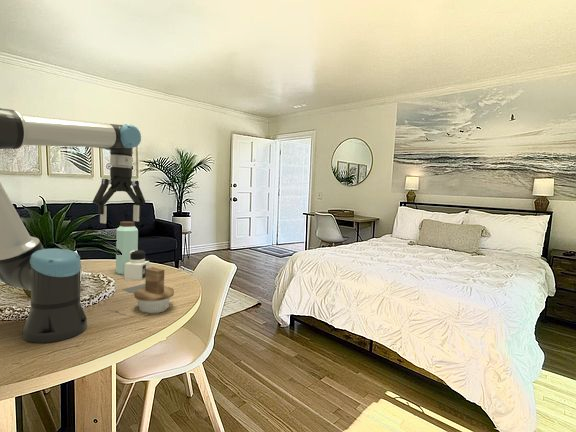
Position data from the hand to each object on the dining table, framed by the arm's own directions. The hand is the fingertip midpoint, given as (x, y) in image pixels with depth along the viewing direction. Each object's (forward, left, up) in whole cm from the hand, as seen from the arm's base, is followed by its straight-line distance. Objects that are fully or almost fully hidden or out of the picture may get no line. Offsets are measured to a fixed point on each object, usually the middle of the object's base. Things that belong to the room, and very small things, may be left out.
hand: (120, 222), depth 126 cm
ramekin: (-2, -23, -29) cm, 37 cm away
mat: (+10, -4, -29) cm, 31 cm away
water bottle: (+21, +26, -29) cm, 44 cm away
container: (+18, +14, -29) cm, 37 cm away
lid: (-2, -23, -24) cm, 33 cm away
